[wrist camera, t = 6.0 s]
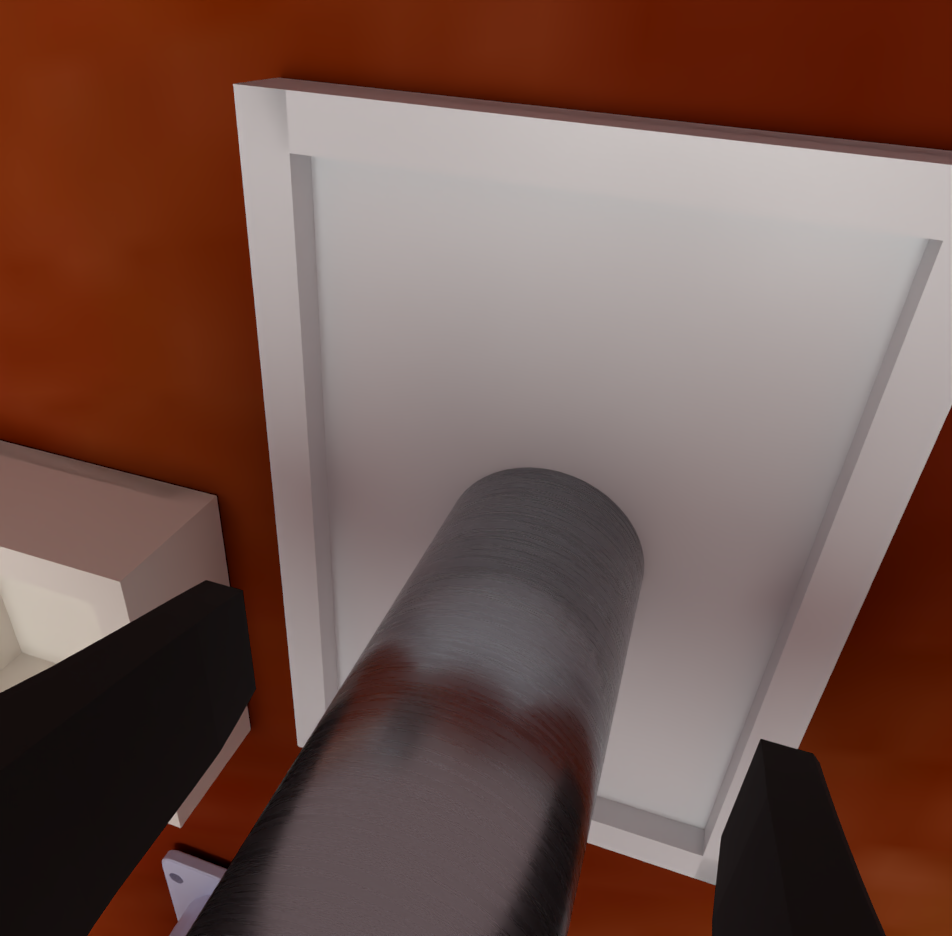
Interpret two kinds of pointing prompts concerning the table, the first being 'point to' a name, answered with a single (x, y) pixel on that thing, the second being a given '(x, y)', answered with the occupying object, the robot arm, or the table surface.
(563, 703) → the steel pin
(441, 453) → the tray
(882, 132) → the table surface
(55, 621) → the square socket block
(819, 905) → the robot arm
